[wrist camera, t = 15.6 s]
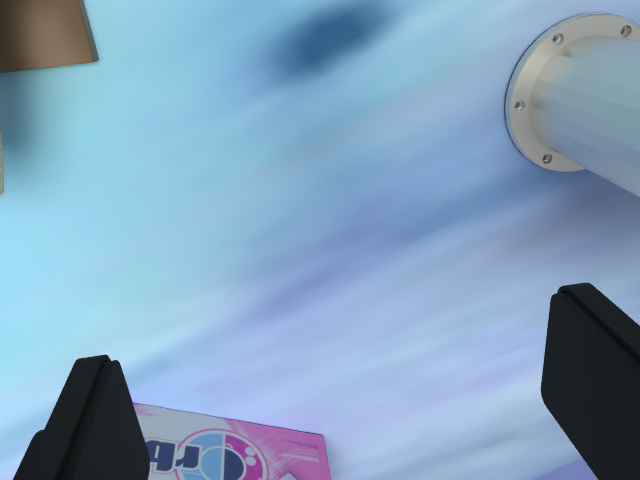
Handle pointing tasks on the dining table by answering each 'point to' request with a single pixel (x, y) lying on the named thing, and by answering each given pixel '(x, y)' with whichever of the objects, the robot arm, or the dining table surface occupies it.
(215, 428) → the gum box
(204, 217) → the dining table surface
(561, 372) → the robot arm
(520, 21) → the dining table surface
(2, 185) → the oak batten
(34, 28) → the stand
